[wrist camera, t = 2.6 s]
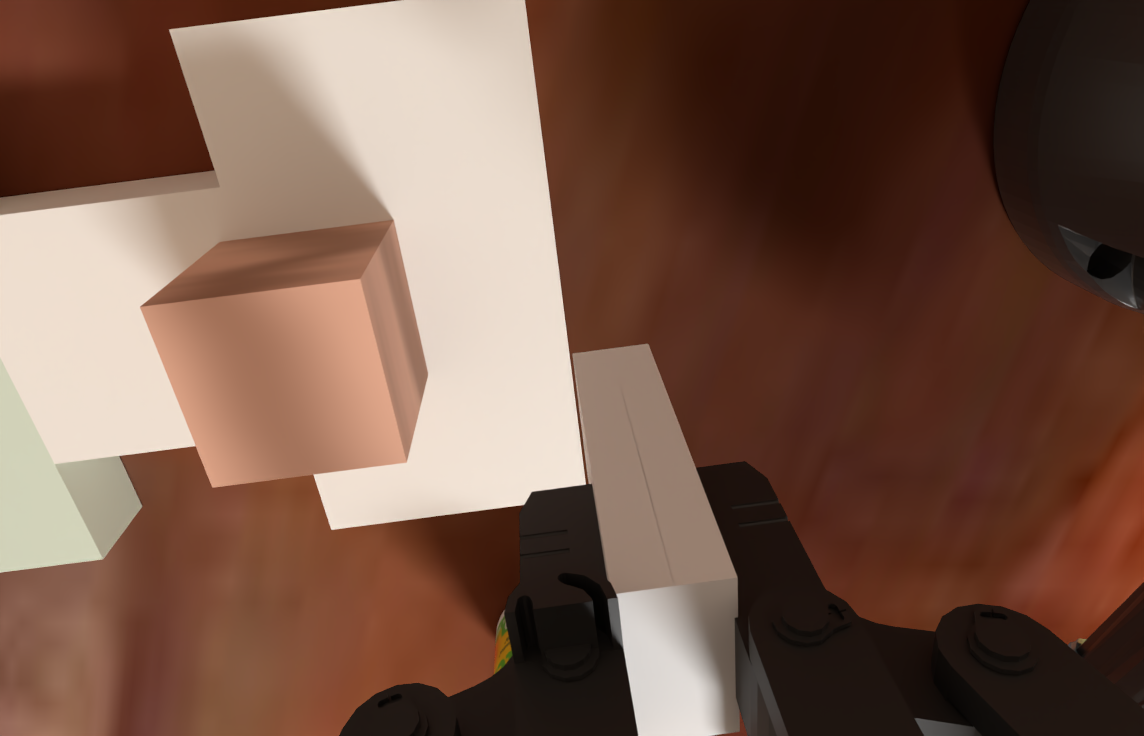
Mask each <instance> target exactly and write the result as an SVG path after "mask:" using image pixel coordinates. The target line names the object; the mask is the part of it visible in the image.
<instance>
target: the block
mask: <svg viewBox="0 0 1144 736" xmlns="http://www.w3.org/2000/svg"><path fill="white" fill-rule="evenodd" d="M140 309H141V311H142V314H143V316H144V319H145V321H146V324H147V326H148V329H149V331H150V334H151V336H152V338H153V341H154V343H155V346H156V348H157V351H158V353H159V356H160V358H161V361H162V363H163V366H164V368H165V371H166V373H167V376H168V378H169V381H170V383H171V386H172V388H173V391H174V393H175V396H176V398H177V401H178V403H179V406H180V408H181V410H182V413H183V415H184V418H185V420H186V423H187V425H188V428H189V430H190V433H191V435H192V438H193V440H194V443H195V445H196V448H197V450H198V453H199V455H200V458H201V460H202V463H203V465H204V468H205V470H206V473H207V475H208V478H209V480H210V482H211V485H212V487H221V486H229V485H236V484H244V483H252V482H260V481H267V480H275V479H283V478H291V477H299V476H306V475H314V474H322V473H330V472H337V471H345V470H353V469H361V468H368V467H376V466H384V465H392V464H400V463H407V460H408V456H409V452H410V447H411V443H412V439H413V435H414V431H415V427H416V423H417V419H418V415H419V411H420V406H421V402H422V398H423V394H424V390H425V386H426V382H427V378H428V370H427V366H426V361H425V357H424V353H423V348H422V344H421V339H420V335H419V330H418V326H417V321H416V317H415V312H414V308H413V303H412V299H411V294H410V290H409V286H408V281H407V277H406V272H405V268H404V263H403V259H402V254H401V250H400V245H399V241H398V236H397V232H396V227H395V223H394V220H388V221H380V222H372V223H365V224H357V225H349V226H341V227H333V228H325V229H317V230H309V231H301V232H294V233H286V234H278V235H270V236H262V237H254V238H246V239H238V240H230V241H223V242H219V243H218V244H217V245H215V246H214V247H213V248H212V249H210V250H209V251H208V252H207V253H205V254H204V255H203V256H202V257H201V258H199V259H198V260H197V261H196V262H194V263H193V264H192V265H191V266H190V267H188V268H187V269H186V270H185V271H183V272H182V273H181V274H180V275H178V276H177V277H176V278H175V279H174V280H172V281H171V282H170V283H169V284H167V285H166V286H165V287H164V288H162V289H161V290H160V291H159V292H158V293H156V294H155V295H154V296H153V297H151V298H150V299H149V300H148V301H146V302H145V303H144V304H143V305H142V306H140Z"/></svg>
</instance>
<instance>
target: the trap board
mask: <svg viewBox="0 0 1144 736" xmlns="http://www.w3.org/2000/svg"><path fill="white" fill-rule="evenodd" d="M169 31H170V34H171V37H172V40H173V43H174V47H175V50H176V53H177V56H178V59H179V62H180V65H181V68H182V71H183V74H184V77H185V80H186V83H187V87H188V90H189V93H190V96H191V99H192V102H193V105H194V108H195V111H196V114H197V117H198V120H199V123H200V127H201V130H202V133H203V136H204V139H205V142H206V145H207V148H208V151H209V154H210V157H211V160H212V163H213V167H214V170H215V171H207V172H199V173H191V174H183V175H175V176H167V177H159V178H151V179H143V180H135V181H127V182H120V183H112V184H104V185H96V186H88V187H80V188H72V189H64V190H56V191H48V192H40V193H32V194H24V195H16V196H9V197H1V198H0V572H8V571H15V570H23V569H31V568H39V567H46V566H54V565H62V564H70V563H77V562H85V561H93V560H101V559H104V557H105V556H106V555H107V553H108V552H109V551H110V549H111V548H112V547H113V545H114V544H115V543H116V541H117V540H118V539H119V537H120V536H121V535H122V533H123V532H124V530H125V529H126V528H127V526H128V525H129V524H130V522H131V521H132V520H133V518H134V517H135V516H136V514H137V513H138V512H139V510H140V509H141V508H142V505H141V503H140V500H139V498H138V496H137V494H136V492H135V490H134V487H133V485H132V483H131V481H130V479H129V477H128V474H127V472H126V470H125V468H124V466H123V464H122V461H121V459H120V457H119V456H121V455H129V454H137V453H145V452H152V451H160V450H168V449H176V448H184V447H191V446H196V445H195V443H194V440H193V438H192V435H191V433H190V430H189V428H188V425H187V423H186V420H185V418H184V415H183V413H182V410H181V408H180V406H179V403H178V401H177V398H176V396H175V393H174V391H173V388H172V386H171V383H170V381H169V378H168V376H167V373H166V371H165V368H164V366H163V363H162V361H161V358H160V356H159V353H158V351H157V348H156V346H155V343H154V341H153V338H152V336H151V334H150V331H149V329H148V326H147V324H146V321H145V319H144V316H143V314H142V311H141V309H140V306H142V305H143V304H144V303H145V302H146V301H148V300H149V299H150V298H151V297H153V296H154V295H155V294H156V293H158V292H159V291H160V290H161V289H162V288H164V287H165V286H166V285H167V284H169V283H170V282H171V281H172V280H174V279H175V278H176V277H177V276H178V275H180V274H181V273H182V272H183V271H185V270H186V269H187V268H188V267H190V266H191V265H192V264H193V263H194V262H196V261H197V260H198V259H199V258H201V257H202V256H203V255H204V254H205V253H207V252H208V251H209V250H210V249H212V248H213V247H214V246H215V245H217V244H218V243H219V242H223V241H230V240H238V239H246V238H254V237H262V236H270V235H278V234H286V233H294V232H301V231H309V230H317V229H325V228H333V227H341V226H349V225H357V224H365V223H372V222H380V221H388V220H394V223H395V227H396V232H397V236H398V241H399V245H400V250H401V254H402V259H403V263H404V268H405V272H406V277H407V281H408V286H409V290H410V294H411V299H412V303H413V308H414V312H415V317H416V321H417V326H418V330H419V335H420V339H421V344H422V348H423V353H424V357H425V361H426V366H427V370H428V378H427V382H426V386H425V390H424V394H423V398H422V402H421V406H420V411H419V415H418V419H417V423H416V427H415V431H414V435H413V439H412V443H411V447H410V452H409V456H408V460H407V463H400V464H392V465H384V466H376V467H368V468H361V469H353V470H345V471H337V472H330V473H322V474H314V478H315V481H316V484H317V487H318V490H319V493H320V496H321V499H322V502H323V505H324V508H325V511H326V514H327V518H328V521H329V524H330V527H331V530H333V529H341V528H349V527H356V526H364V525H372V524H380V523H387V522H395V521H403V520H411V519H418V518H426V517H434V516H442V515H449V514H457V513H465V512H473V511H480V510H488V509H496V508H504V507H511V506H519V505H524V504H525V503H526V501H527V499H528V498H529V496H530V494H531V492H534V491H541V490H549V489H556V488H564V487H571V486H579V485H586V483H585V475H584V467H583V459H582V451H581V443H580V435H579V427H578V419H577V411H576V403H575V395H574V387H573V379H572V371H571V363H570V355H569V347H568V340H567V332H566V324H565V316H564V308H563V300H562V292H561V284H560V276H559V268H558V260H557V252H556V244H555V236H554V228H553V220H552V212H551V204H550V196H549V188H548V180H547V172H546V165H545V157H544V149H543V141H542V133H541V125H540V117H539V109H538V101H537V93H536V85H535V77H534V69H533V61H532V53H531V45H530V37H529V29H528V21H527V13H526V5H525V0H401V1H393V2H385V3H377V4H369V5H361V6H353V7H345V8H337V9H329V10H321V11H313V12H305V13H297V14H289V15H281V16H273V17H265V18H257V19H249V20H241V21H233V22H225V23H217V24H209V25H201V26H193V27H185V28H177V29H169Z"/></svg>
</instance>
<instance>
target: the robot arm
mask: <svg viewBox="0 0 1144 736" xmlns="http://www.w3.org/2000/svg"><path fill="white" fill-rule="evenodd" d="M993 146H994V162H995V170H996V177H997V182H998V186H999V191H1000V194H1001V197H1002V201H1003V204H1004V207H1005V209H1006V212H1007V214H1008V217H1009V219H1010V221H1011V223H1012V225H1013V226H1014V228H1015V230H1016V232H1017V233H1018V235H1019V236H1020V238H1021V239H1022V241H1023V242H1024V244H1025V245H1026V246H1027V247H1028V249H1029V250H1030V251H1031V252H1032V253H1033V254H1034V255H1035V256H1036V257H1037V258H1038V259H1039V260H1040V261H1041V262H1042V263H1043V264H1044V265H1045V266H1047V267H1048V268H1049V269H1050V270H1052V271H1053V272H1055V273H1056V274H1058V275H1059V276H1061V277H1062V278H1064V279H1066V280H1068V281H1070V282H1071V283H1073V284H1075V285H1077V286H1079V287H1081V288H1083V289H1085V290H1087V291H1089V292H1091V293H1093V294H1095V295H1097V296H1099V297H1101V298H1103V299H1104V300H1106V301H1108V302H1111V303H1113V304H1115V305H1118V306H1120V307H1123V308H1126V309H1129V310H1133V311H1136V312H1139V313H1143V314H1144V0H1030V2H1029V4H1028V6H1027V8H1026V10H1025V12H1024V14H1023V16H1022V19H1021V21H1020V23H1019V25H1018V28H1017V30H1016V33H1015V36H1014V38H1013V41H1012V44H1011V46H1010V49H1009V52H1008V56H1007V59H1006V62H1005V65H1004V69H1003V73H1002V77H1001V81H1000V85H999V90H998V96H997V102H996V109H995V118H994V137H993ZM573 362H574V370H575V378H576V386H577V394H578V402H579V410H580V418H581V426H582V434H583V443H584V451H585V459H586V467H587V474H588V480H589V484H586V485H579V486H571V487H564V488H556V489H549V490H541V491H534V492H531V494H530V496H529V498H528V499H527V501H526V503H525V504H524V506H523V508H522V510H521V511H520V513H519V520H520V583H519V585H518V586H517V587H516V588H515V589H514V591H513V592H512V593H511V594H510V595H509V597H508V600H507V604H506V608H505V611H504V616H505V621H506V626H507V631H508V635H509V640H510V645H511V650H512V656H511V658H510V659H509V660H508V662H507V663H506V664H505V665H504V667H503V668H501V669H500V670H499V671H498V672H496V673H495V674H494V675H493V676H492V677H490V678H489V679H487V680H485V681H483V682H481V683H479V684H478V685H476V686H474V687H471V688H469V689H467V690H464V691H462V692H460V693H457V694H455V695H453V696H450V697H447V696H446V695H445V694H443V693H442V692H441V691H440V690H439V689H438V688H435V687H432V686H428V685H424V684H420V683H413V684H403V685H396V686H394V687H391V688H389V689H386V690H384V691H382V692H379V693H377V694H375V695H374V696H372V697H371V698H370V699H369V700H367V701H366V702H365V703H363V704H362V705H361V706H360V707H358V708H357V709H356V710H355V712H354V713H353V715H352V716H351V717H350V719H349V720H348V722H347V723H346V725H345V726H344V727H343V729H342V731H341V733H340V735H339V736H711V735H718V734H725V733H732V732H740V726H739V709H740V712H741V716H742V719H743V722H744V725H745V728H746V731H747V735H748V736H1144V582H1143V583H1142V584H1141V585H1140V586H1139V587H1138V588H1137V589H1136V590H1135V591H1134V592H1133V593H1132V594H1131V595H1130V596H1129V598H1128V599H1127V600H1126V601H1125V602H1124V603H1123V604H1122V605H1121V606H1120V607H1119V608H1118V609H1117V610H1116V611H1115V612H1114V613H1113V614H1112V615H1111V616H1110V617H1109V618H1108V619H1107V620H1106V621H1105V622H1104V623H1103V624H1102V625H1101V626H1100V627H1099V628H1098V629H1097V630H1096V631H1095V632H1094V633H1093V634H1092V635H1091V636H1090V637H1089V638H1088V639H1087V640H1086V639H1078V640H1076V641H1075V642H1070V643H1069V644H1068V645H1067V644H1065V643H1064V642H1063V641H1062V640H1061V639H1059V638H1058V637H1057V636H1056V635H1055V634H1053V633H1052V632H1051V631H1050V630H1049V629H1047V628H1045V627H1044V626H1042V625H1041V624H1039V623H1038V622H1036V621H1034V620H1033V619H1031V618H1030V617H1028V616H1027V615H1024V614H1021V613H1018V612H1016V611H1013V610H1010V609H1007V608H1004V607H1001V606H992V605H983V604H974V605H968V606H962V607H957V608H955V609H953V610H952V611H950V612H949V613H947V614H946V615H944V616H943V617H942V618H941V620H940V623H939V625H938V627H937V629H936V632H933V631H925V630H917V629H908V628H900V627H893V626H888V625H883V624H878V623H874V622H871V621H869V620H866V619H864V618H861V617H859V616H858V615H857V614H856V613H855V612H854V610H853V609H852V608H851V607H850V606H849V604H848V603H847V602H846V601H844V600H842V599H841V598H839V597H837V596H836V595H834V594H832V593H831V592H829V591H827V590H826V589H825V588H824V586H823V584H822V582H821V580H820V578H819V576H818V575H817V573H816V571H815V569H814V567H813V565H812V563H811V561H810V559H809V557H808V555H807V553H806V552H805V550H804V548H803V546H802V544H801V542H800V540H799V538H798V536H797V534H796V532H795V530H794V529H793V527H792V525H791V523H790V521H788V519H787V515H786V513H785V511H784V509H783V507H782V506H781V504H779V502H778V498H777V496H776V494H775V492H774V490H773V488H772V486H771V485H770V483H769V481H768V479H767V478H766V477H765V476H764V475H762V474H761V473H760V472H758V471H757V470H756V469H754V468H753V467H752V466H751V465H749V464H748V463H747V462H745V461H744V462H736V463H729V464H721V465H714V466H706V467H699V468H695V465H694V462H693V460H692V457H691V454H690V452H689V449H688V447H687V444H686V441H685V439H684V436H683V434H682V431H681V428H680V426H679V423H678V420H677V418H676V415H675V413H674V410H673V407H672V405H671V402H670V400H669V397H668V394H667V392H666V389H665V386H664V384H663V381H662V379H661V376H660V373H659V371H658V368H657V366H656V363H655V360H654V358H653V355H652V352H651V350H650V347H649V345H648V344H643V345H635V346H628V347H620V348H612V349H605V350H597V351H589V352H582V353H574V354H573Z"/></svg>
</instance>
